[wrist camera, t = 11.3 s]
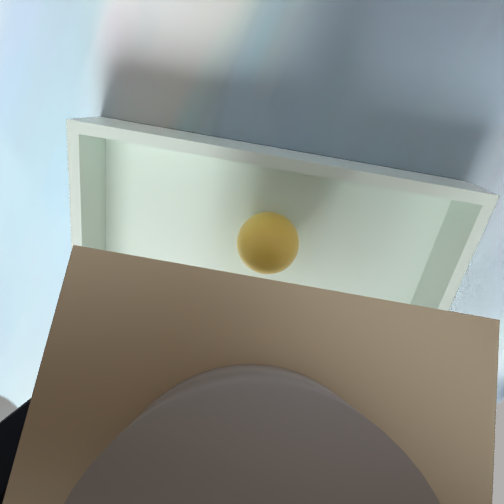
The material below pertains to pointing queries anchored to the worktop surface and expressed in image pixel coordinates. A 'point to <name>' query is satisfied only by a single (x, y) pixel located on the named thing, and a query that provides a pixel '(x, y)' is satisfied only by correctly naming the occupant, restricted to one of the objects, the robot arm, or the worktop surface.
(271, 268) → the ball
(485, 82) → the worktop surface
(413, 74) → the worktop surface
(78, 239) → the tray
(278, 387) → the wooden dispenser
